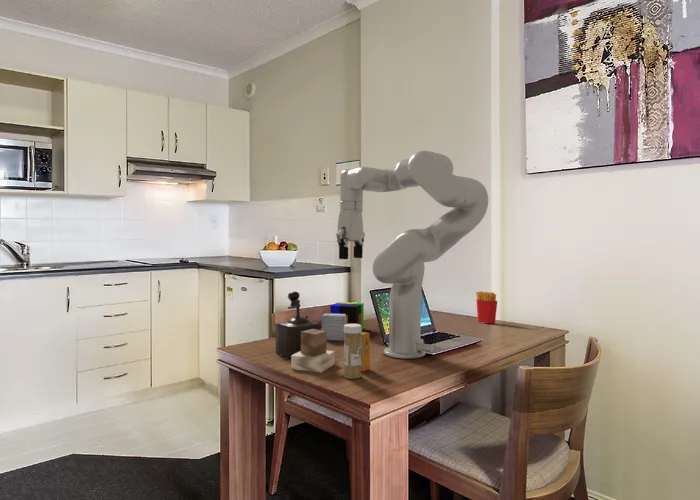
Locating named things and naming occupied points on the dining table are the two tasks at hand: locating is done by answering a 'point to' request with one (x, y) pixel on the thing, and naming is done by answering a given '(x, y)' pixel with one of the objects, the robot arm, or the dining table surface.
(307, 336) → the walnut block
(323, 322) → the medicine box
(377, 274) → the robot arm
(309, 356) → the birch block
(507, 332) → the dining table surface
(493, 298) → the french fries
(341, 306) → the puzzle toy
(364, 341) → the supplement box
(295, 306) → the manual coffee grinder
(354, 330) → the sprinkles bottle
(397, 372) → the dining table surface
